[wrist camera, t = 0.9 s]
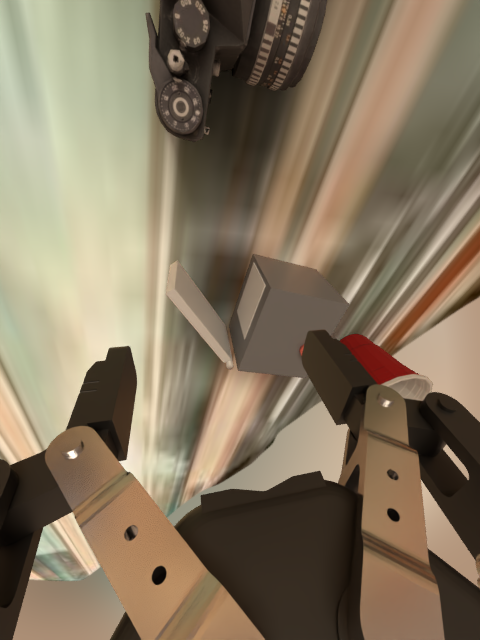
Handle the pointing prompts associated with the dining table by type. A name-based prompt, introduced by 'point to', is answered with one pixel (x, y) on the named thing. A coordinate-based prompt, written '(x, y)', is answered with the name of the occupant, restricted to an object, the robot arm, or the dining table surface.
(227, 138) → the dining table surface
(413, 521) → the robot arm
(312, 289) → the camera body
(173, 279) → the side door
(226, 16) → the camera
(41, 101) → the dining table surface
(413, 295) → the dining table surface
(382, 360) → the plastic cup
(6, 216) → the dining table surface
